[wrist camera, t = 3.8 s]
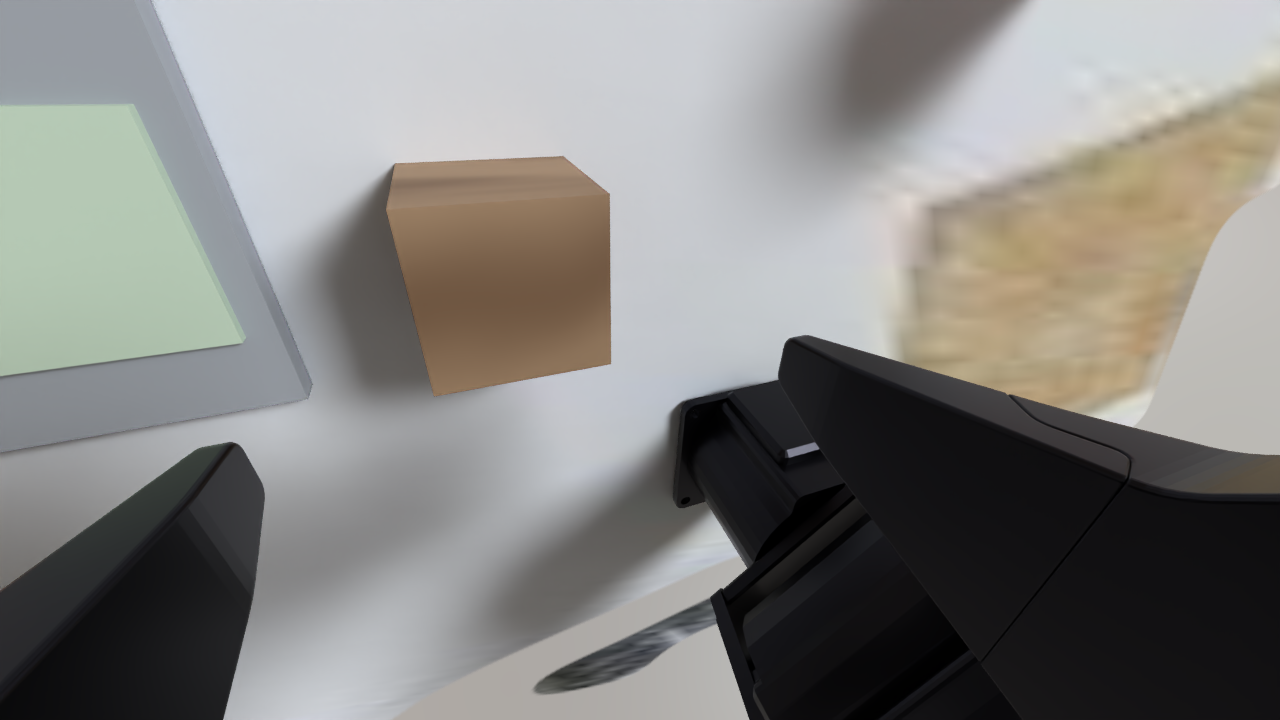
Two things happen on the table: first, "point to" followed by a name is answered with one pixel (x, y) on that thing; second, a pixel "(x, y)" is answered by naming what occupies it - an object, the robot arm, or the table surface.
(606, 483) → the table surface
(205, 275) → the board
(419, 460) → the table surface
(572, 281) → the walnut block
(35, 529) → the table surface
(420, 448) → the table surface
